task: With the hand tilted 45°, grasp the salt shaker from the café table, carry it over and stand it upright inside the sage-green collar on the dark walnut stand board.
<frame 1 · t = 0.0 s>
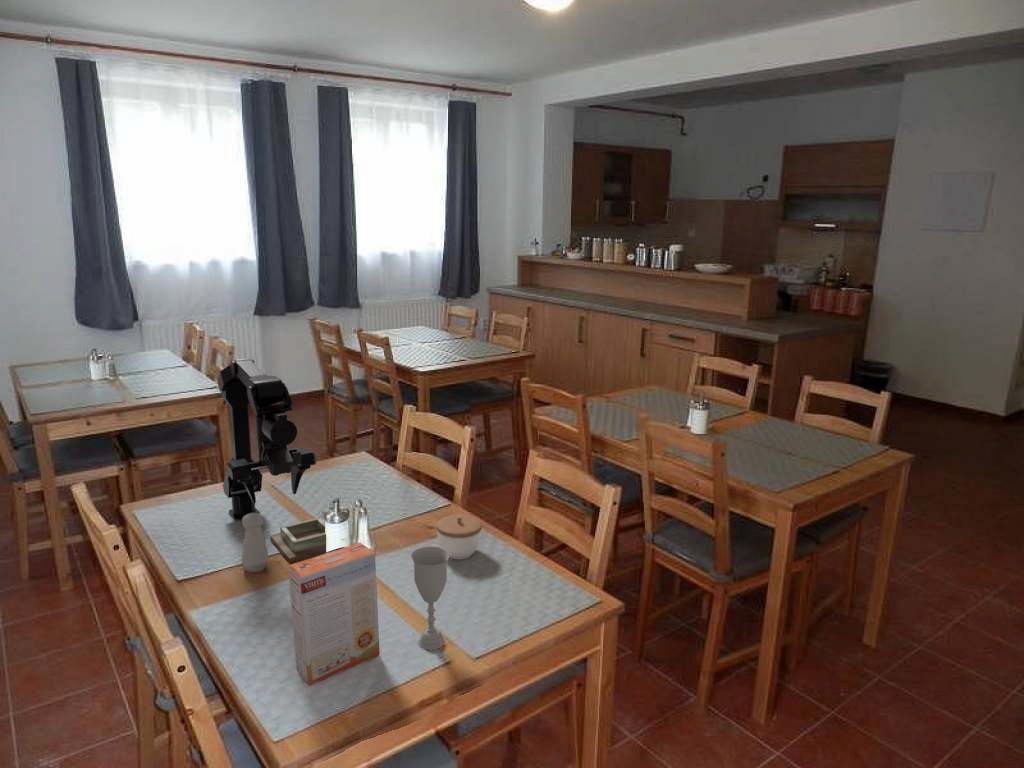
hand: (274, 498, 160), 15 cm above the table, tool pointing down, fingers open, 9 cm apart
cracker box: (338, 664, 126), on the table
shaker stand: (308, 543, 170), on the table
salt shaker: (256, 568, 158), on the table
chalice: (431, 642, 132), on the table
lidded jar: (459, 554, 167), on the table
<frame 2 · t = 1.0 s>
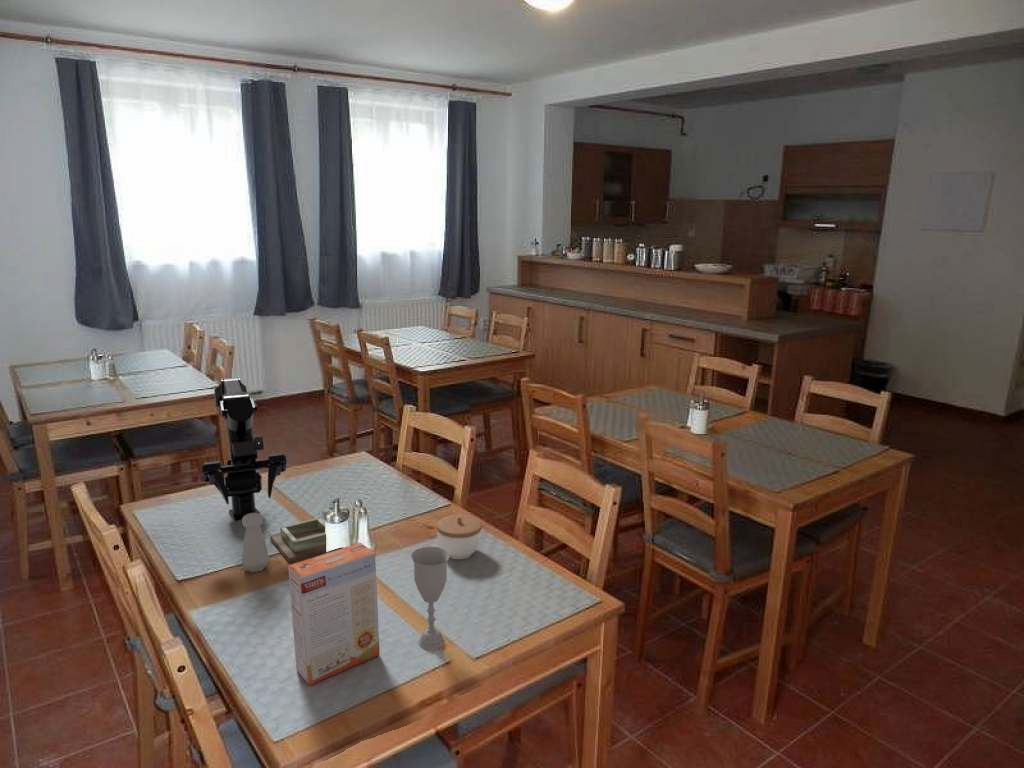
hand: (249, 500, 162), 13 cm above the table, tool tilted 45°, fingers open, 9 cm apart
nothing on the table moved.
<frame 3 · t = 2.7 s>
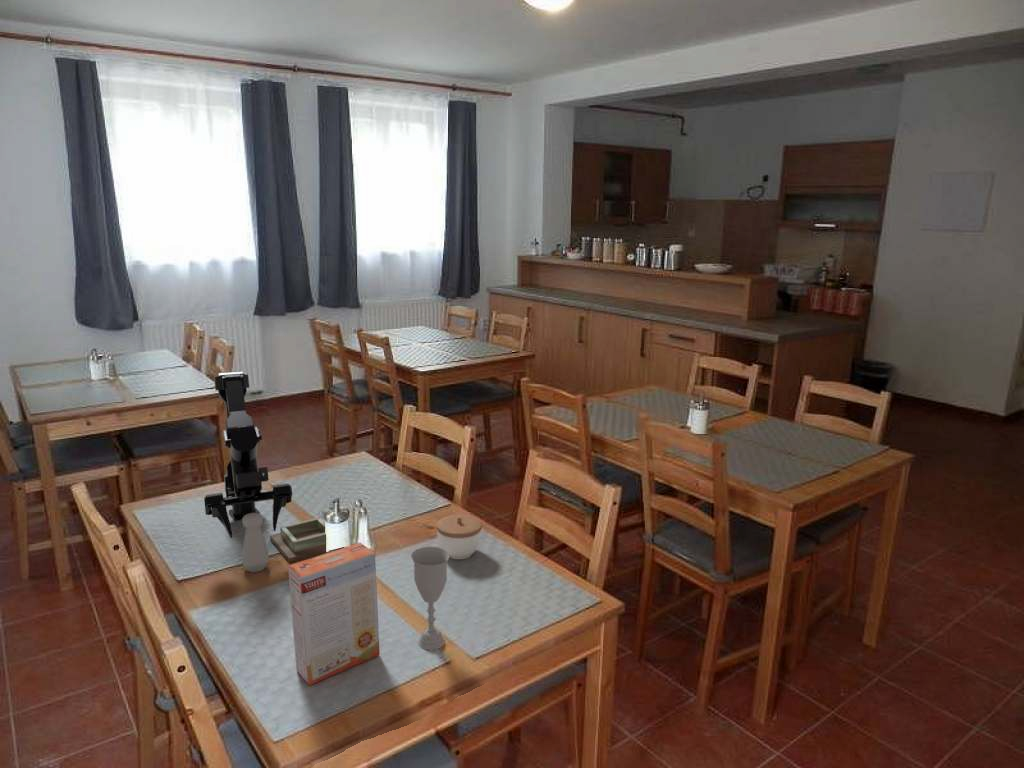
hand: (253, 533, 156), 8 cm above the table, tool tilted 45°, fingers open, 9 cm apart
nothing on the table moved.
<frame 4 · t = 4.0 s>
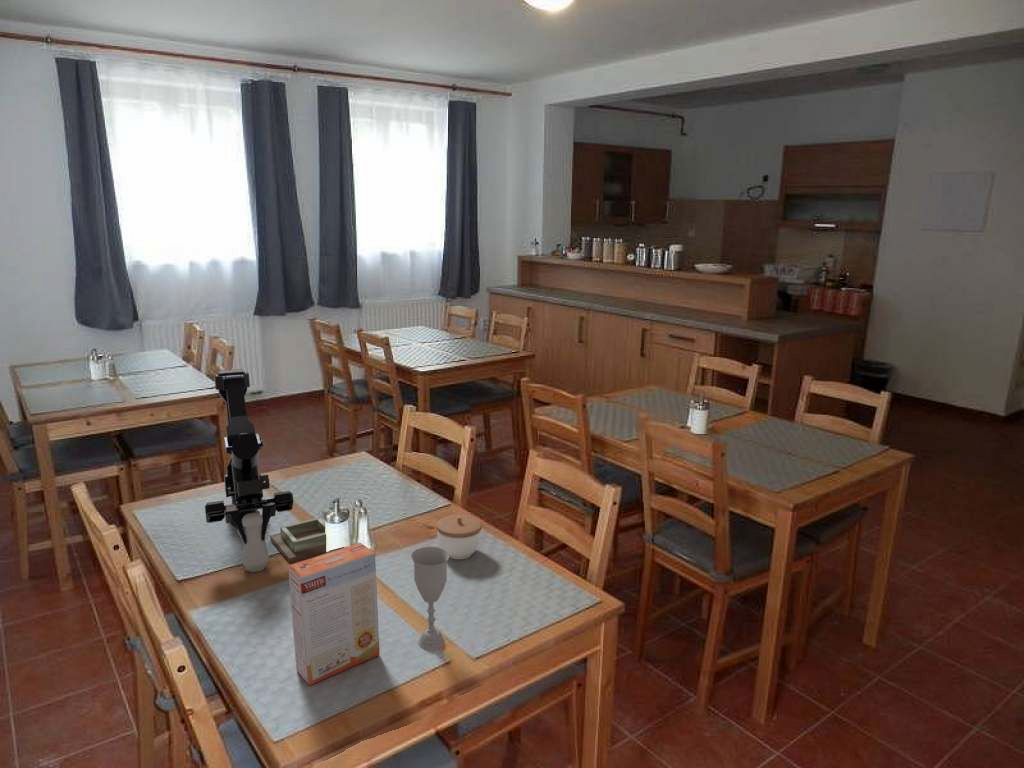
hand: (254, 541, 155), 7 cm above the table, tool tilted 45°, fingers closed on salt shaker, 3 cm apart
salt shaker: (256, 568, 158), on the table, touching gripper
everything else where it was.
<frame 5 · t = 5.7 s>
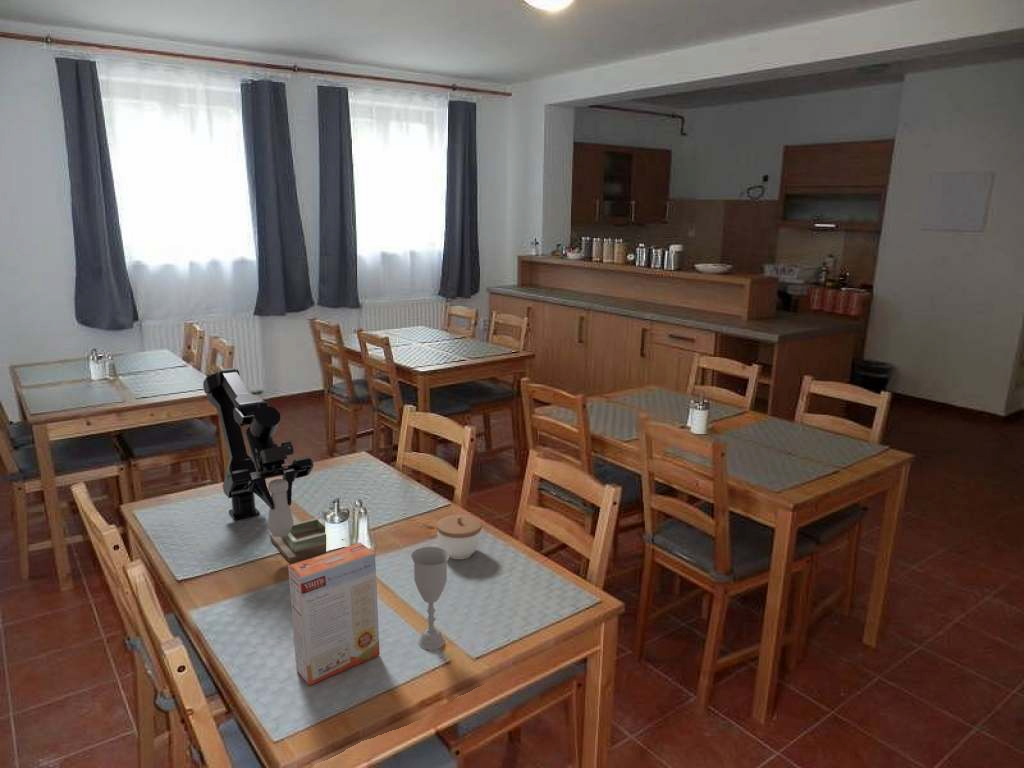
hand: (281, 506, 159), 13 cm above the table, tool tilted 45°, fingers closed on salt shaker, 3 cm apart
salt shaker: (281, 533, 162), point 6 cm above the table, touching gripper
everything else where it was.
when the fingers open (9 cm above the table, at t = 7.5 s): salt shaker drops 1 cm, resting on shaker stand.
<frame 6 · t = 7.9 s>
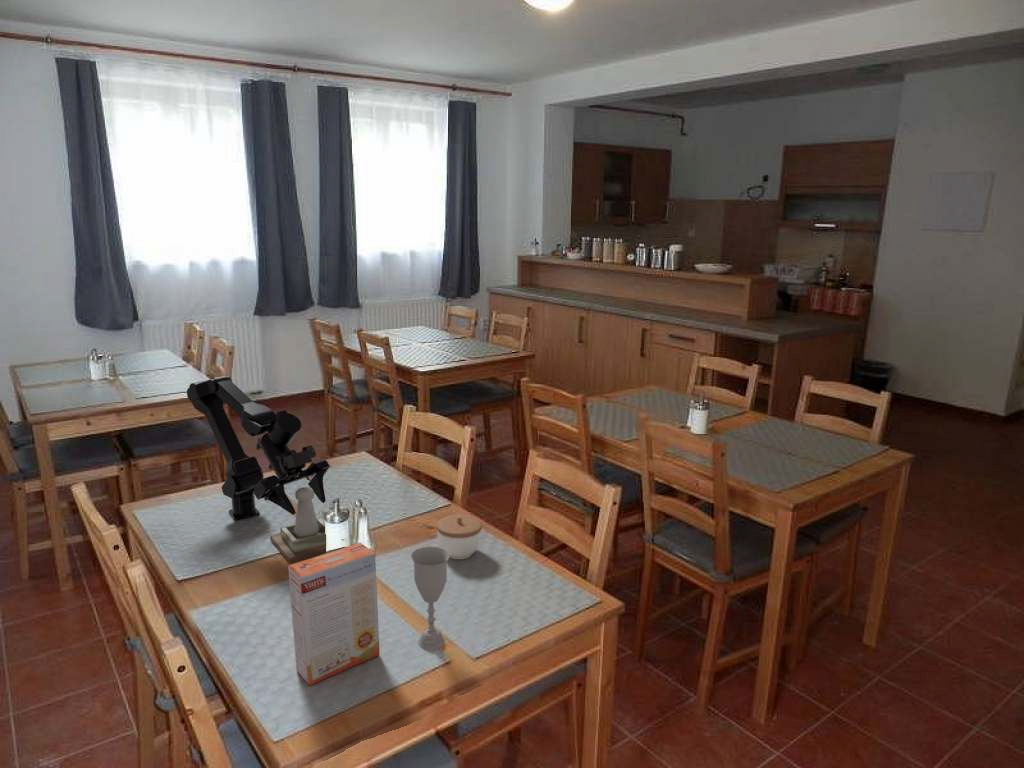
hand: (309, 507, 167), 10 cm above the table, tool tilted 45°, fingers open, 8 cm apart
salt shaker: (307, 539, 170), point 1 cm above the table, touching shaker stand
everything else where it was.
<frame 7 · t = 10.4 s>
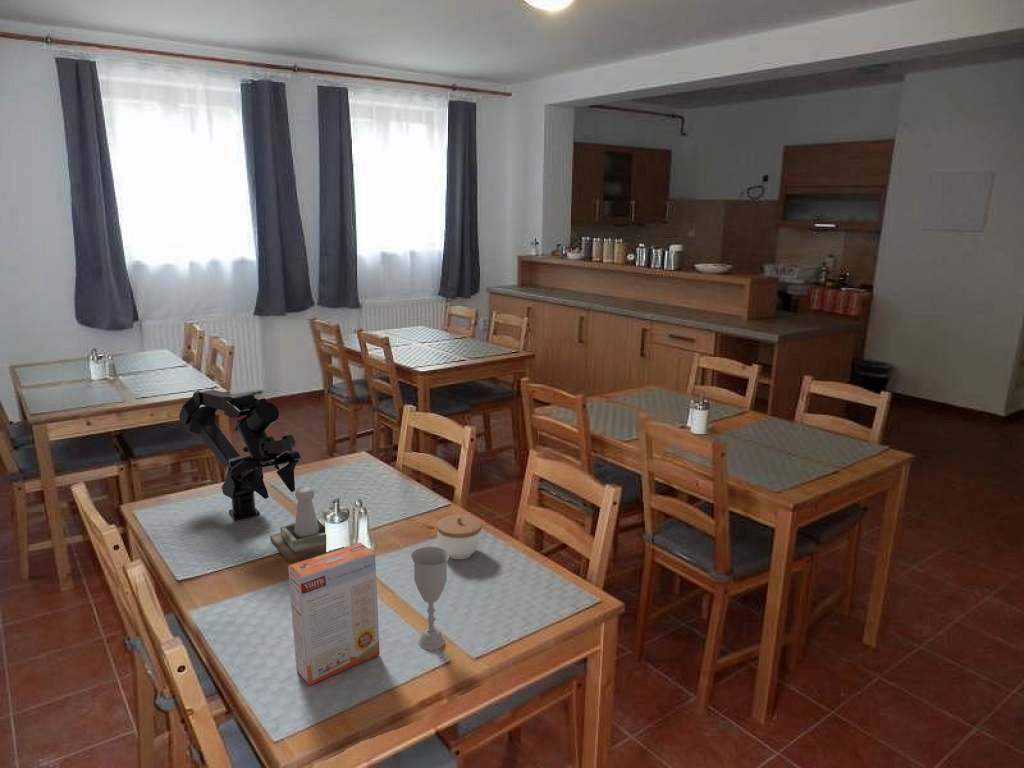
hand: (280, 494, 172), 10 cm above the table, tool tilted 35°, fingers open, 9 cm apart
nothing on the table moved.
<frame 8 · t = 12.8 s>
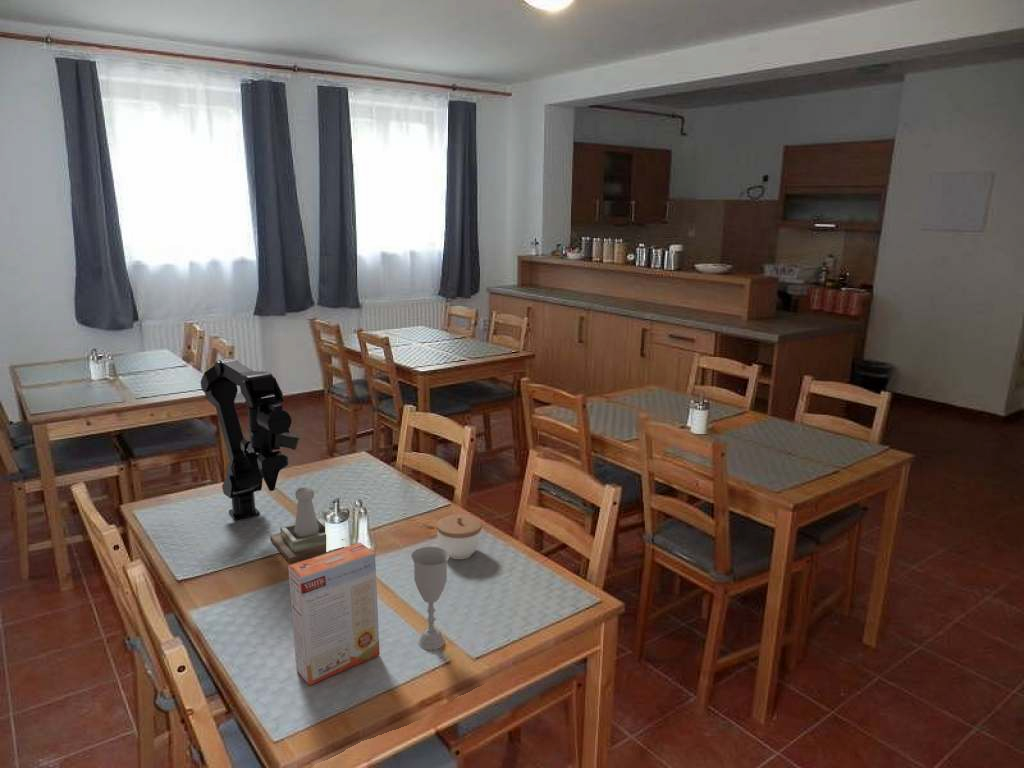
hand: (266, 484, 172), 13 cm above the table, tool pointing down, fingers open, 9 cm apart
nothing on the table moved.
at the end: salt shaker 0.2 cm off-centre on the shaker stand, point 1.0 cm above the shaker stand's base; salt shaker tilted 0°; the gripper is holding nothing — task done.
